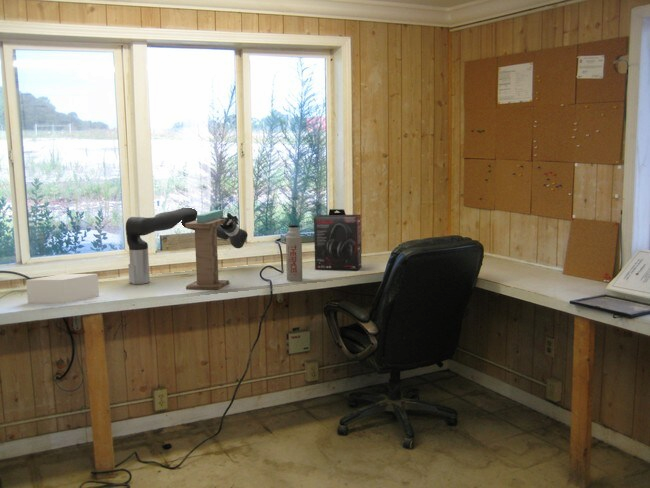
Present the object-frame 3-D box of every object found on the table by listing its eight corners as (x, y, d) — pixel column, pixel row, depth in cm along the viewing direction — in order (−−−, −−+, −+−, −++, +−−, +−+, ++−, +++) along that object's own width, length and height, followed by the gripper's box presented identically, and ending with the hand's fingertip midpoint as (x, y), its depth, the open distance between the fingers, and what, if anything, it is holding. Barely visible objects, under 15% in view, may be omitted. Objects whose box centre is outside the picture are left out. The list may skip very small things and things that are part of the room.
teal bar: (216, 216, 336) (216, 209, 335) (223, 216, 335) (223, 210, 335) (196, 222, 311) (196, 215, 310) (203, 222, 310) (203, 215, 310)
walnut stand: (200, 281, 332) (197, 218, 327) (230, 282, 329) (228, 219, 324) (184, 290, 313) (181, 223, 308) (216, 291, 310) (213, 223, 305)
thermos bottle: (298, 281, 328) (297, 226, 324) (284, 280, 331) (282, 225, 327) (305, 278, 335) (304, 224, 331) (290, 277, 338) (289, 224, 334)
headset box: (314, 269, 360) (313, 210, 355) (319, 265, 372) (318, 207, 367) (358, 271, 354) (357, 210, 349) (361, 266, 367) (361, 208, 362)
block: (100, 299, 296) (99, 276, 294) (28, 307, 284) (26, 283, 282) (97, 293, 310) (96, 271, 308) (28, 300, 297) (26, 277, 296)
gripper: (241, 233, 345) (231, 220, 331) (216, 233, 348) (205, 220, 334) (243, 220, 348) (233, 207, 334) (218, 220, 351) (207, 207, 336)
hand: (219, 214), depth 334 cm, fingers open, 8 cm apart
